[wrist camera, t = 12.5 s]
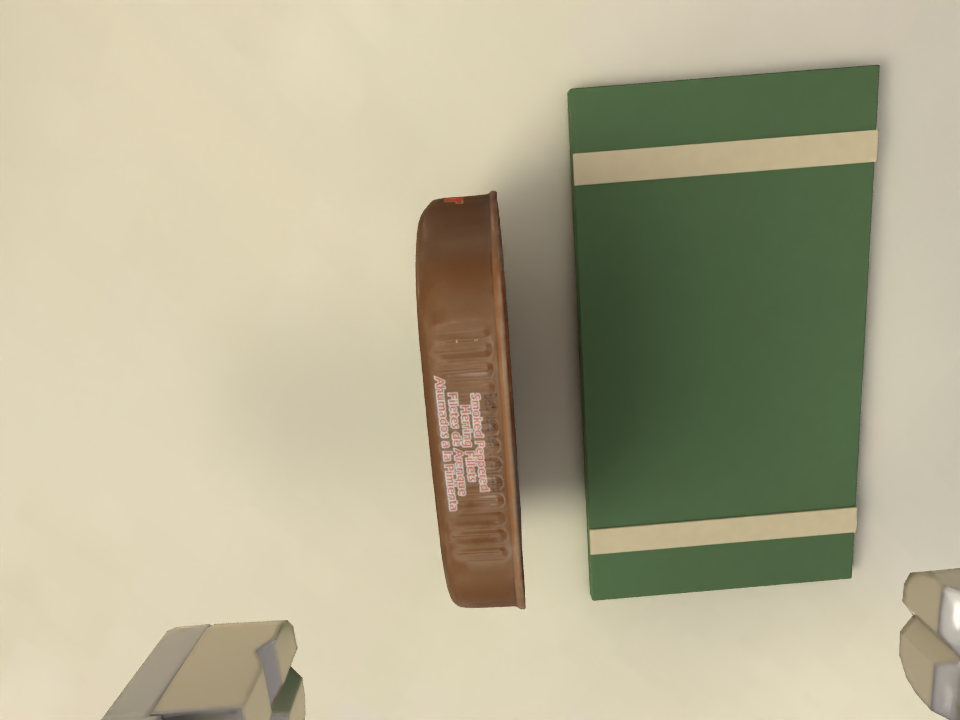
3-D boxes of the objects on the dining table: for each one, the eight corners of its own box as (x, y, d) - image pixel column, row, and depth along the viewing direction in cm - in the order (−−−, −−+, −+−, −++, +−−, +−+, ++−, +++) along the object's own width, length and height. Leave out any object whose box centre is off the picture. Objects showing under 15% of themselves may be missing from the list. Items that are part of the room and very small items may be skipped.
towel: (870, 67, 25) (882, 63, 24) (844, 571, 29) (853, 580, 29) (567, 91, 24) (570, 87, 24) (589, 593, 29) (592, 602, 29)
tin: (522, 535, 28) (547, 663, 20) (453, 541, 28) (449, 671, 20) (499, 195, 25) (517, 181, 17) (421, 201, 25) (401, 190, 17)
